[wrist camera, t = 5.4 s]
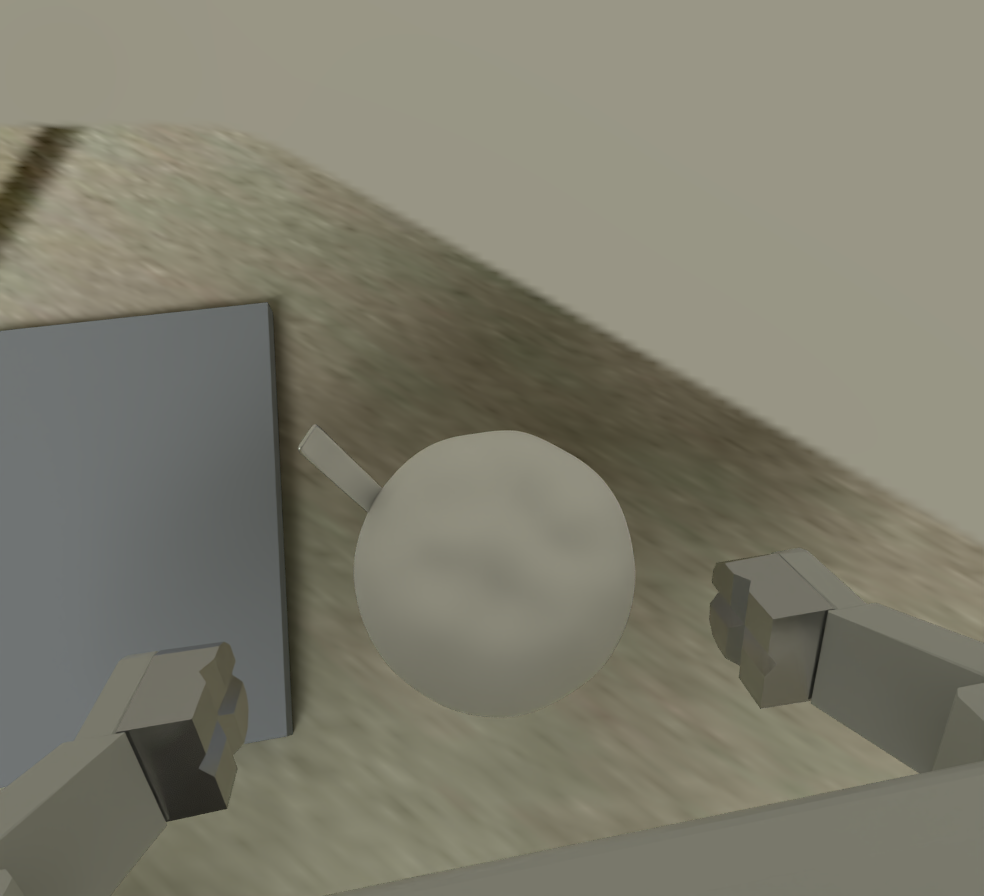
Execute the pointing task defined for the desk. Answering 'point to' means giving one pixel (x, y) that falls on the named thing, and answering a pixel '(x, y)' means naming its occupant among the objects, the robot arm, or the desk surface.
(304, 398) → the desk surface
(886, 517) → the desk surface
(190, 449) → the rubber mat
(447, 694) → the milkshake
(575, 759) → the desk surface
